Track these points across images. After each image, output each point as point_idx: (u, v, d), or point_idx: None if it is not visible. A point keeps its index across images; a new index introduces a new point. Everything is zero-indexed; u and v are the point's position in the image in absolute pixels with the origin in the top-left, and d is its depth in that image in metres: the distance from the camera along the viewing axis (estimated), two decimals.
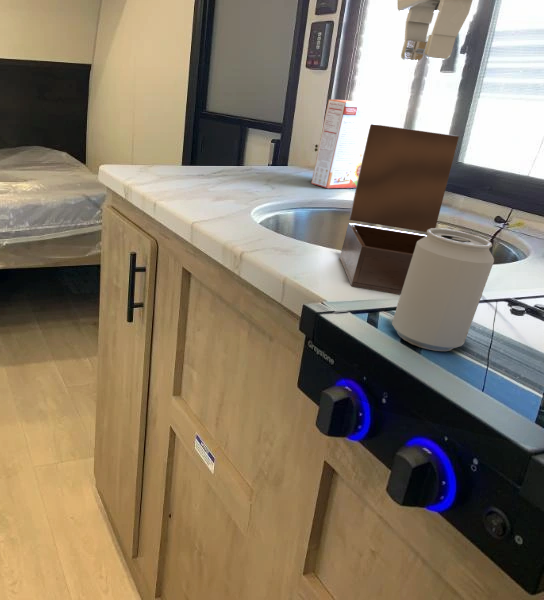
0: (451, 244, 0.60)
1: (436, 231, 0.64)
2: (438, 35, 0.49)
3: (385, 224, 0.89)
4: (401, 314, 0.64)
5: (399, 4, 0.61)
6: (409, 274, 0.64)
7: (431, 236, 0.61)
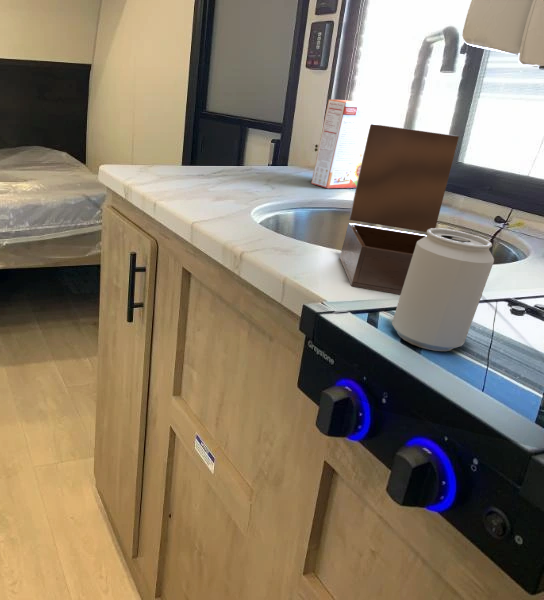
0: (451, 244, 0.60)
1: (436, 231, 0.64)
2: None
3: (385, 224, 0.89)
4: (401, 314, 0.64)
5: None
6: (409, 274, 0.64)
7: (431, 236, 0.61)
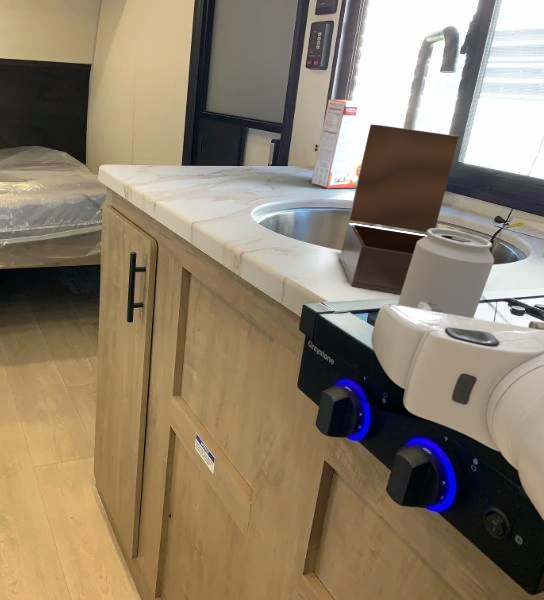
0: (451, 244, 0.60)
1: (436, 231, 0.64)
2: None
3: (385, 224, 0.89)
4: None
5: None
6: (409, 274, 0.64)
7: (431, 236, 0.61)
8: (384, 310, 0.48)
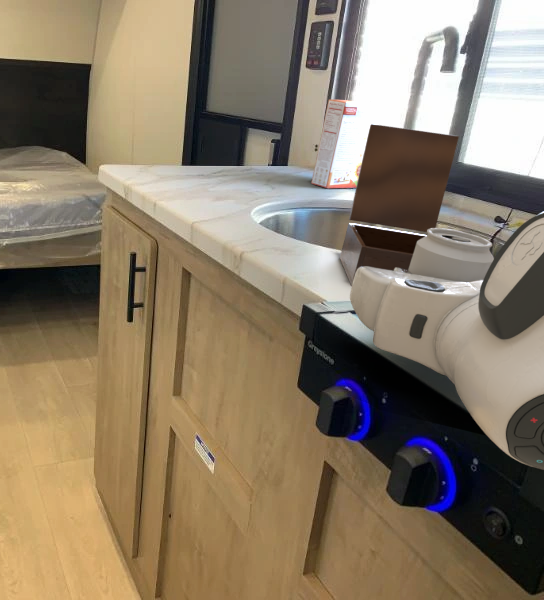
0: (451, 244, 0.60)
1: (436, 231, 0.64)
2: None
3: (385, 224, 0.89)
4: None
5: None
6: None
7: (431, 236, 0.61)
8: (359, 270, 0.59)
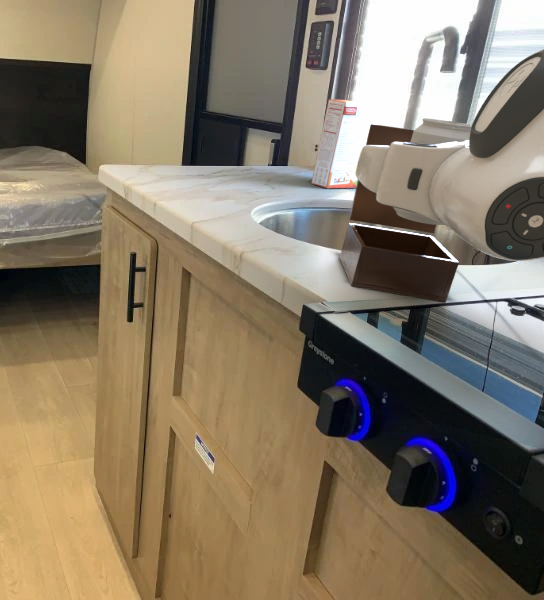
0: (443, 125, 0.69)
1: None
2: None
3: (385, 224, 0.89)
4: None
5: None
6: None
7: (426, 121, 0.71)
8: (364, 147, 0.69)
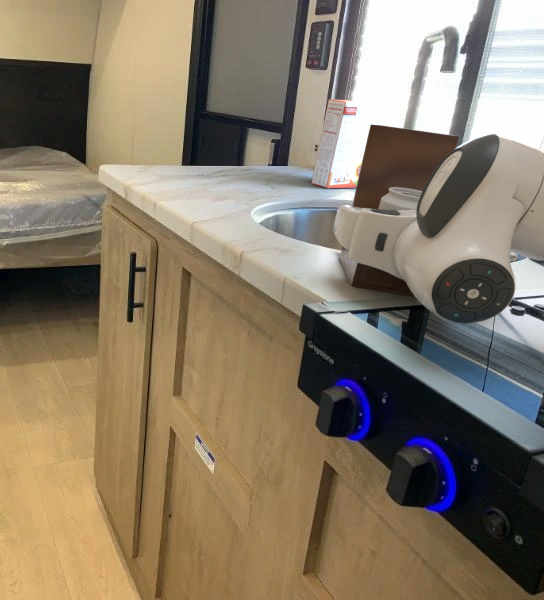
0: (405, 197, 0.79)
1: (396, 189, 0.83)
2: None
3: None
4: None
5: None
6: None
7: (391, 192, 0.80)
8: (340, 207, 0.78)
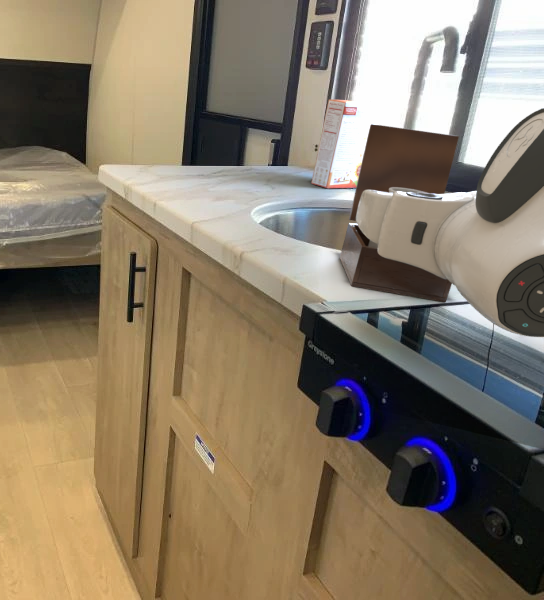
0: None
1: (396, 189, 0.83)
2: None
3: None
4: None
5: None
6: None
7: (391, 192, 0.80)
8: (364, 192, 0.64)
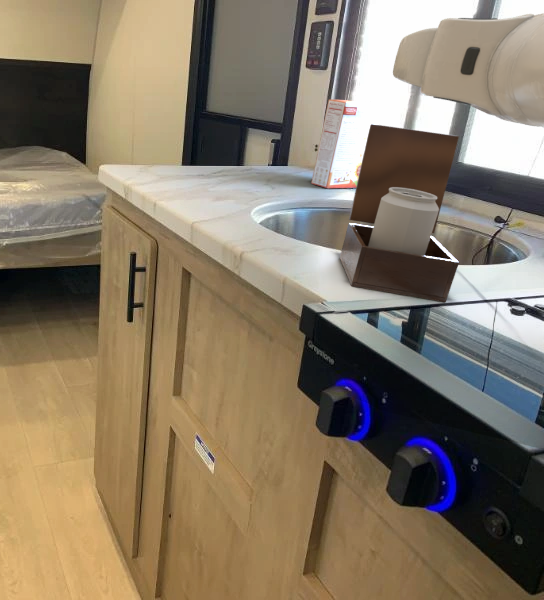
0: (405, 197, 0.79)
1: (396, 189, 0.83)
2: None
3: None
4: None
5: None
6: (375, 222, 0.83)
7: (391, 192, 0.80)
8: (404, 38, 0.58)
